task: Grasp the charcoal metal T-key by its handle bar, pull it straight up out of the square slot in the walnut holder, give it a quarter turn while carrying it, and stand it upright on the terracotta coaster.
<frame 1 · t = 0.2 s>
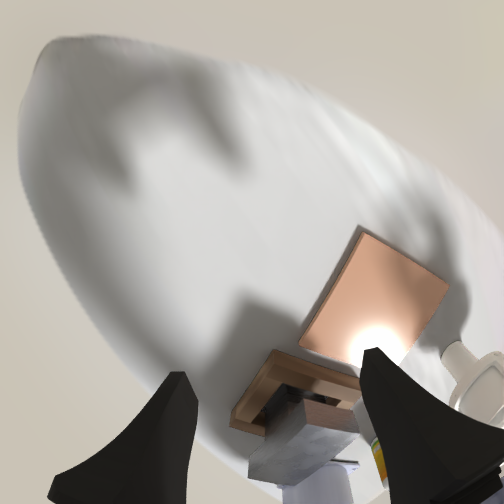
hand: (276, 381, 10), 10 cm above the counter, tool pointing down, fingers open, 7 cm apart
walnut holder: (293, 398, 23), on the counter
terracotta coaster: (379, 313, 20), on the counter
t key: (296, 427, 19), in the walnut holder
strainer: (451, 352, 22), on the counter
supplement bottle: (389, 436, 25), on the counter
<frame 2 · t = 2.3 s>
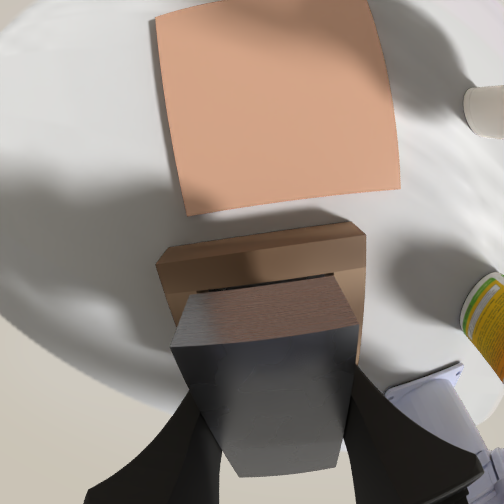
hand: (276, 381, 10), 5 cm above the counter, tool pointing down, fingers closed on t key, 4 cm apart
walnut holder: (270, 313, 15), on the counter
terracotta coaster: (281, 89, 10), on the counter
t key: (274, 361, 11), in the walnut holder, touching gripper
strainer: (477, 112, 10), on the counter
supplement bottle: (481, 301, 15), on the counter
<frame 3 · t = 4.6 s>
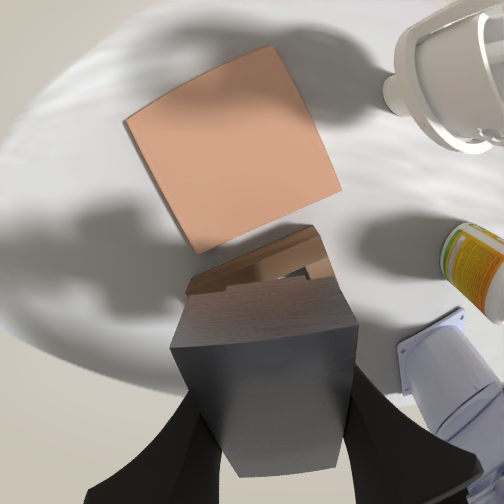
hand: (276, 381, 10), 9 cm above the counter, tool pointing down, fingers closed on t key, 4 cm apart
walnut holder: (276, 304, 20), on the counter
terracotta coaster: (232, 148, 16), on the counter
t key: (274, 361, 11), point 8 cm above the counter, touching gripper
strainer: (400, 96, 14), on the counter
supplement bottle: (459, 250, 18), on the counter
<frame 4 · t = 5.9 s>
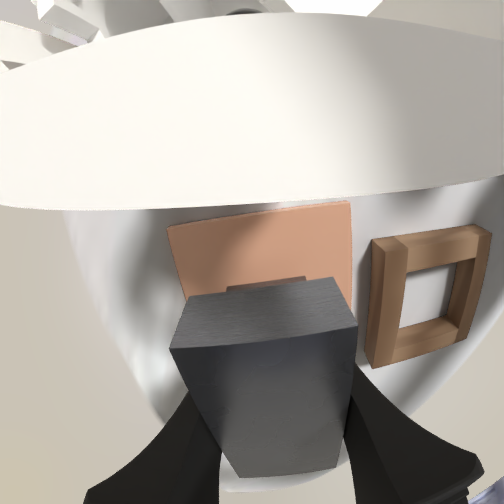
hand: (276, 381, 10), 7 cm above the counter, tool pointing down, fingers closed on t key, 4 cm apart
walnut holder: (423, 290, 17), on the counter
terracotta coaster: (269, 292, 17), on the counter
t key: (274, 362, 11), point 6 cm above the counter, touching gripper
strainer: (250, 84, 12), on the counter
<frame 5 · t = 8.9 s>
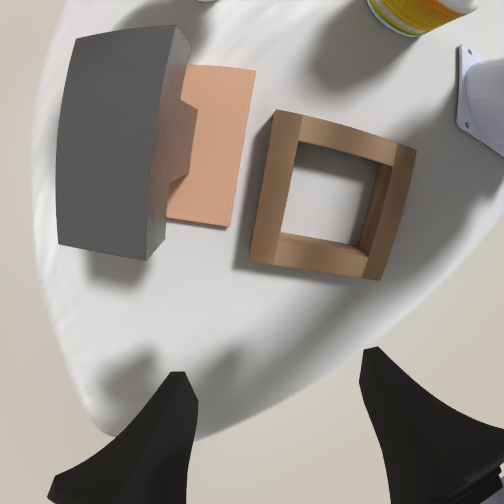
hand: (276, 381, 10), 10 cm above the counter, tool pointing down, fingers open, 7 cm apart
walnut holder: (329, 196, 17), on the counter
terracotta coaster: (164, 138, 16), on the counter
t key: (138, 138, 12), on the terracotta coaster, point 4 cm above the counter
supplement bottle: (395, 10, 12), on the counter
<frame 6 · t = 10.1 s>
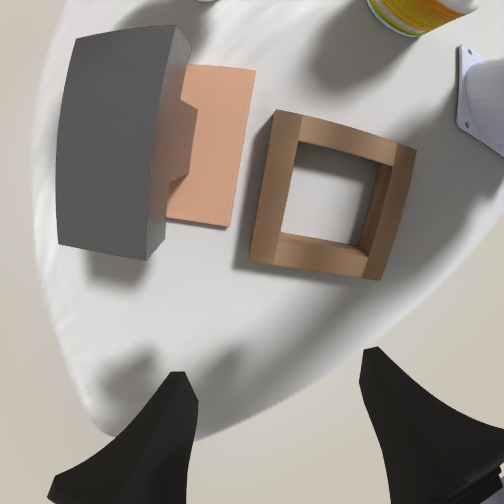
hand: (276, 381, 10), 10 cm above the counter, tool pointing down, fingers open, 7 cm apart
walnut holder: (329, 196, 17), on the counter
terracotta coaster: (164, 138, 16), on the counter
t key: (138, 138, 12), on the terracotta coaster, point 4 cm above the counter
supplement bottle: (395, 10, 12), on the counter
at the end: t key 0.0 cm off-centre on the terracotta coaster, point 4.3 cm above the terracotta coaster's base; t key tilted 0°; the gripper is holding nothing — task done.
